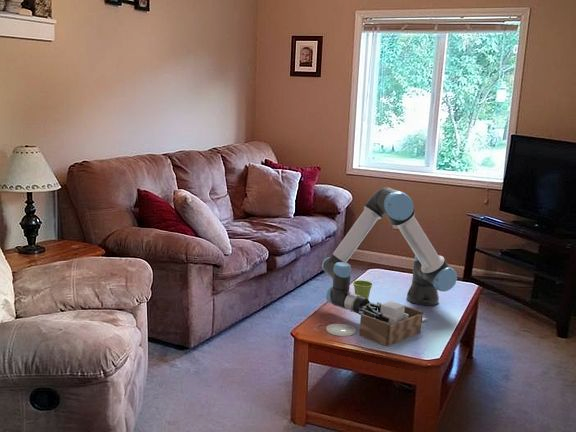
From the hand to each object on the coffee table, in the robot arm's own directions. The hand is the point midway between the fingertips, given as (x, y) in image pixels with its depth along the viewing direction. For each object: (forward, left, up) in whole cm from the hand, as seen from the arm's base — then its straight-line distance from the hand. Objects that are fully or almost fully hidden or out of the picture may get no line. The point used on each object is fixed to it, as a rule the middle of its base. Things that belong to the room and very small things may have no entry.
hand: (402, 320), depth 246 cm
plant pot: (-23, -38, -8) cm, 45 cm away
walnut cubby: (0, -5, -8) cm, 9 cm away
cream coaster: (+14, -20, -8) cm, 25 cm away
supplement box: (0, -5, -8) cm, 9 cm away
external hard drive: (-22, -10, -8) cm, 25 cm away
